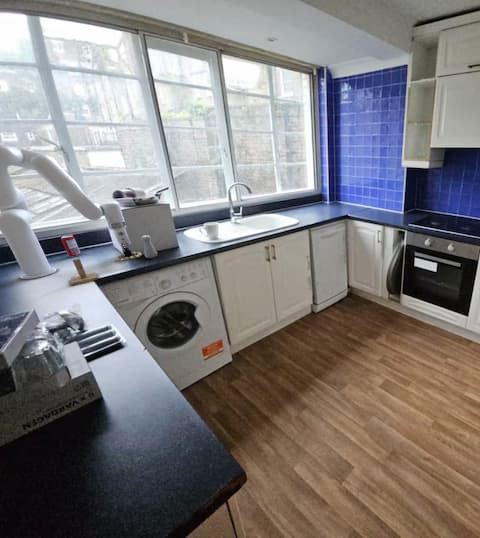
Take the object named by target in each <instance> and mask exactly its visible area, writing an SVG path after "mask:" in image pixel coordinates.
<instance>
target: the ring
mask: <svg viewBox="0 0 480 538" xmlns="http://www.w3.org/2000/svg"><path fill="white" fill-rule="evenodd" d="M131 252H132V256H129V257H125V255H124V254H123V253H122V254H119V255H117V256H116V257H115V260H116V261H117V262H124V261H126V262H127V261H132V260H134V259H138V258H141V257H142V256H143V254H142V252H140V251H131Z"/></svg>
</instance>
